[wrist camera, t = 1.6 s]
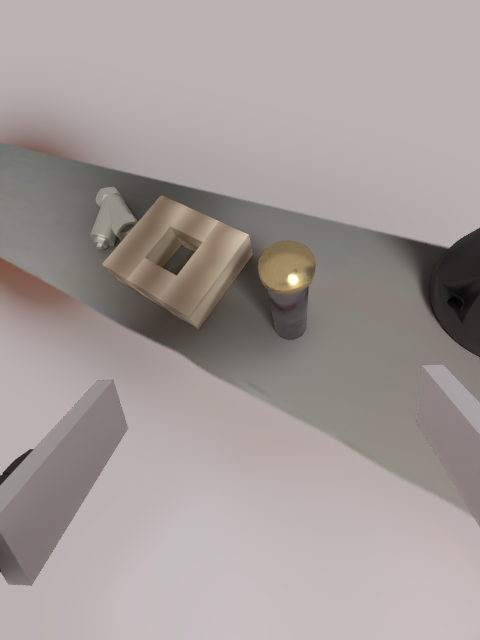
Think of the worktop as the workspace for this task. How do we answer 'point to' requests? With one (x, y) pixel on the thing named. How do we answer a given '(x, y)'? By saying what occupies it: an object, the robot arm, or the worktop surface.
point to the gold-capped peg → (287, 285)
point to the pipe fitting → (111, 219)
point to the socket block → (198, 273)
